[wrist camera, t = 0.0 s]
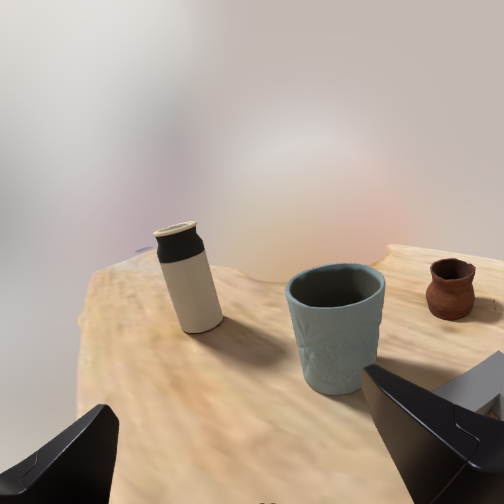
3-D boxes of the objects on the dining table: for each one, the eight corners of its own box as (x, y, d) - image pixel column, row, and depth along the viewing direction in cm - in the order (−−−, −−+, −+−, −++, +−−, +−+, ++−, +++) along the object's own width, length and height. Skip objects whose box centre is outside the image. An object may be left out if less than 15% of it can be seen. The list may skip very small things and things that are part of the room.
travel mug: (201, 338, 43) (168, 233, 38) (173, 328, 48) (143, 235, 43) (232, 316, 49) (207, 218, 44) (203, 309, 54) (178, 222, 49)
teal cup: (323, 340, 36) (314, 260, 33) (392, 352, 29) (395, 263, 26) (282, 387, 29) (263, 298, 26) (363, 411, 22) (367, 313, 19)
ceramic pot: (498, 287, 32) (501, 250, 31) (494, 350, 22) (505, 302, 20) (414, 279, 46) (414, 245, 44) (380, 330, 35) (379, 287, 34)
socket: (566, 443, 4) (578, 426, 3) (440, 556, 4) (452, 551, 3) (493, 366, 19) (498, 350, 19) (380, 428, 19) (382, 413, 19)
